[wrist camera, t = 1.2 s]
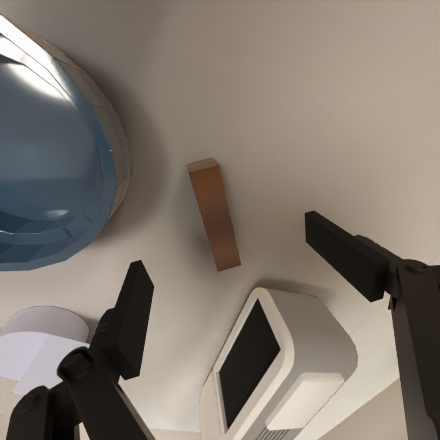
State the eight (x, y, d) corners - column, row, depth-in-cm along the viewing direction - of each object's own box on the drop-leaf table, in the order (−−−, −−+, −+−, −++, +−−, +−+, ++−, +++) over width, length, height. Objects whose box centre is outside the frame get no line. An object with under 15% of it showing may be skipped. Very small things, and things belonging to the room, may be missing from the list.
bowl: (-177, 53, 14) (-408, 8, 8) (75, 1, 15) (14, -70, 9) (-1, 252, 21) (-62, 296, 16) (157, 209, 22) (150, 237, 17)
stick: (187, 163, 21) (188, 172, 17) (212, 157, 21) (219, 164, 17) (212, 251, 26) (218, 272, 22) (232, 245, 26) (241, 265, 22)
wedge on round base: (129, 328, 29) (21, 296, 24) (116, 382, 23) (-32, 355, 18) (100, 366, 31) (-4, 344, 26) (81, 425, 25) (-60, 411, 20)
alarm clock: (253, 273, 28) (298, 363, 18) (308, 282, 31) (374, 366, 20) (197, 389, 38) (203, 493, 27) (242, 389, 41) (264, 483, 30)
